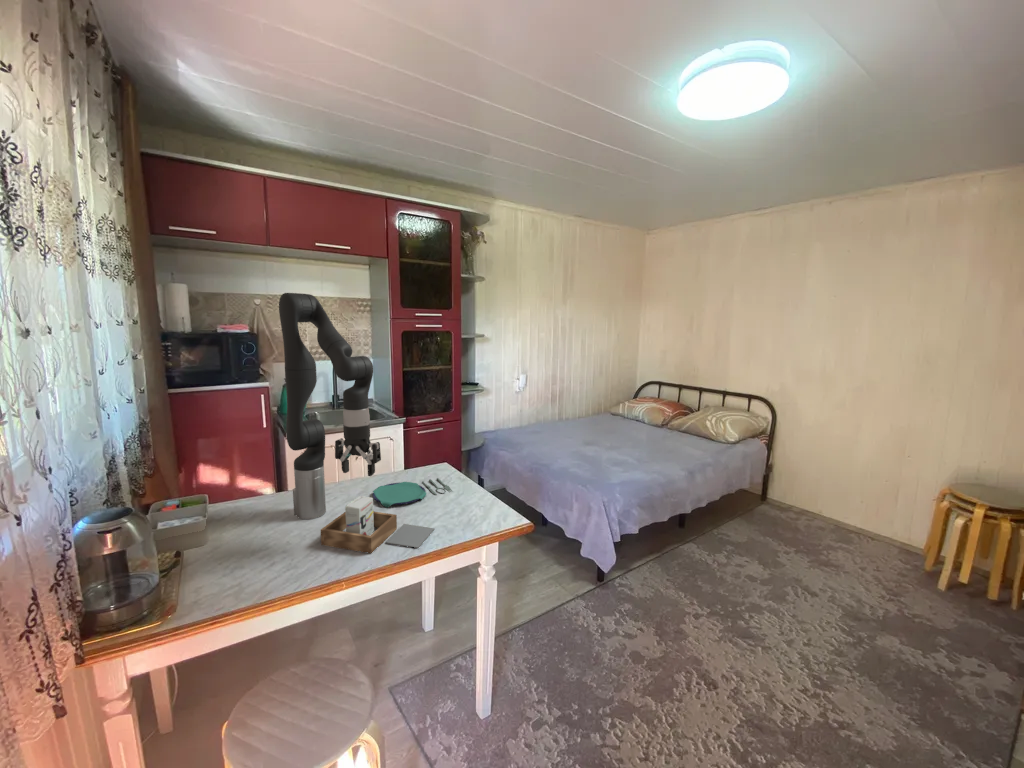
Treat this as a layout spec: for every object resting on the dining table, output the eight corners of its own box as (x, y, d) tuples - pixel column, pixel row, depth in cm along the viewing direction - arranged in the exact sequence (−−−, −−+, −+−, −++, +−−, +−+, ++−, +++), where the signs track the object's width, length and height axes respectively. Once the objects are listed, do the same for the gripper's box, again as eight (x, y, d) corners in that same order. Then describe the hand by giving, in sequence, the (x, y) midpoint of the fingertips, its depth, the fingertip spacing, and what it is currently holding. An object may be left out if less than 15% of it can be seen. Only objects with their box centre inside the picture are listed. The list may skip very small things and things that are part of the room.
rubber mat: (385, 543, 129) (385, 542, 129) (403, 525, 140) (403, 523, 140) (418, 549, 126) (418, 547, 126) (434, 529, 138) (434, 528, 138)
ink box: (360, 544, 128) (358, 508, 126) (345, 542, 129) (344, 506, 127) (374, 531, 136) (373, 496, 134) (361, 529, 137) (359, 495, 135)
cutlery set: (366, 492, 165) (366, 486, 165) (437, 479, 182) (437, 474, 181) (381, 513, 149) (381, 507, 149) (457, 497, 165) (457, 491, 165)
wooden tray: (321, 545, 127) (320, 529, 126) (350, 521, 141) (350, 508, 141) (371, 553, 123) (371, 537, 122) (396, 529, 138) (396, 514, 137)
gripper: (327, 423, 124) (330, 475, 127) (371, 427, 121) (372, 480, 124) (343, 417, 132) (345, 467, 134) (384, 421, 128) (385, 472, 131)
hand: (358, 473), depth 129 cm, fingers open, 8 cm apart
